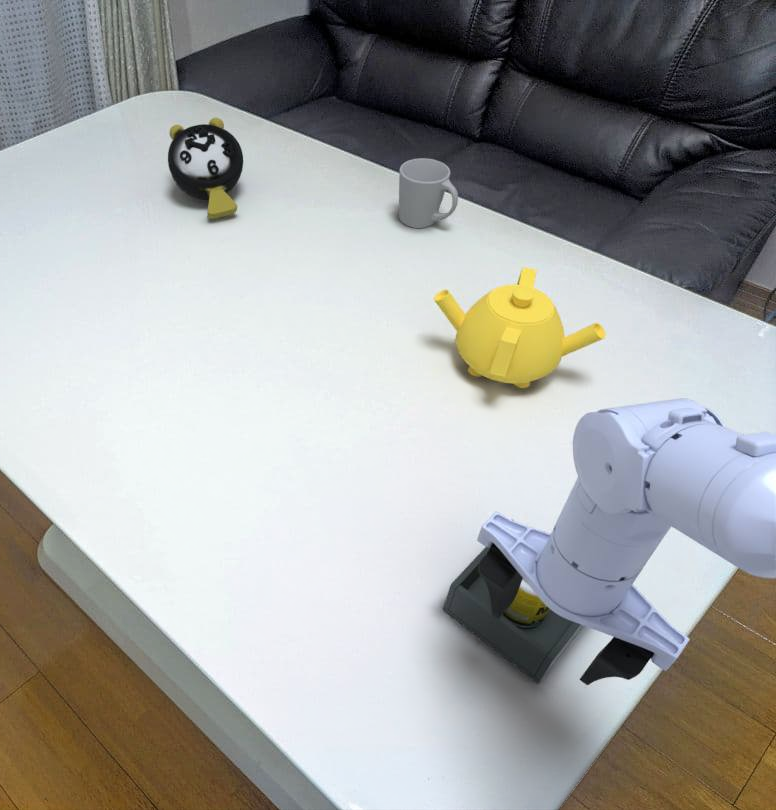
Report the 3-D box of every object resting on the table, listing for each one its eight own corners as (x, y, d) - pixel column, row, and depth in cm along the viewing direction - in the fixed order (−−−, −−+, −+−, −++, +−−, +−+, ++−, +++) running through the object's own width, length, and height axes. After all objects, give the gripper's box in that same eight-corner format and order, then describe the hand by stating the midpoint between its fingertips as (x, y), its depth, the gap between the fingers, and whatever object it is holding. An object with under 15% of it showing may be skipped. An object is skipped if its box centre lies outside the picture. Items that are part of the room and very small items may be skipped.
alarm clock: (175, 234, 124) (134, 149, 117) (219, 196, 133) (183, 115, 126) (228, 222, 117) (188, 131, 109) (271, 183, 126) (236, 96, 118)
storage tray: (595, 609, 70) (611, 584, 66) (538, 683, 65) (552, 660, 62) (501, 545, 75) (511, 518, 72) (442, 609, 70) (450, 584, 67)
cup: (411, 201, 121) (418, 153, 115) (463, 223, 116) (474, 173, 110) (383, 220, 118) (389, 171, 112) (436, 243, 113) (445, 193, 107)
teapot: (407, 387, 91) (420, 317, 83) (441, 304, 102) (455, 235, 94) (577, 432, 85) (608, 361, 77) (593, 338, 96) (622, 268, 88)
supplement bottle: (534, 639, 67) (560, 591, 61) (485, 611, 69) (505, 563, 63) (553, 600, 70) (580, 551, 64) (506, 575, 72) (527, 525, 66)
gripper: (739, 574, 46) (658, 668, 56) (532, 451, 54) (492, 553, 63) (691, 649, 43) (613, 735, 53) (477, 506, 50) (444, 605, 60)
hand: (544, 640), depth 58 cm, fingers open, 7 cm apart
